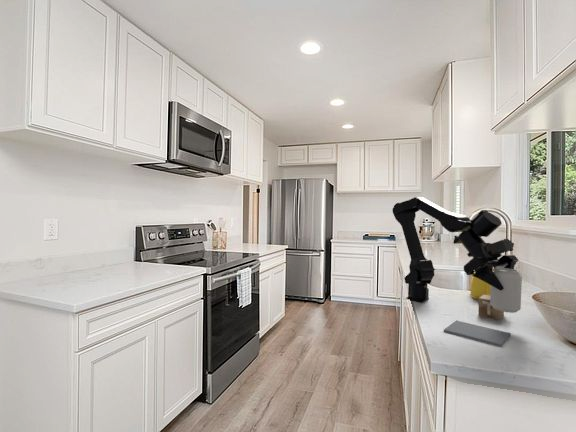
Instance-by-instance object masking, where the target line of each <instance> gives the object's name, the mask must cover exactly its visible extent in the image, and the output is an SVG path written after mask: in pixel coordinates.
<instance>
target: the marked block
mask: <svg viewBox="0 0 576 432" xmlns="http://www.w3.org/2000/svg"><path fill="white" fill-rule="evenodd" d="M477 311H478V316H479V317H483V318H487V319H493V320H497V321H501V320H502V319H503V317H504V316H505V315H504V314H505V312H503V311H499V310H496V309H494V308H493V307H492V306H491V305H490V296H488V295H482V296H481V297H480V298H479V299H478V310H477Z"/></svg>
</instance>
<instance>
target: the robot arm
mask: <svg viewBox="0 0 576 432" xmlns="http://www.w3.org/2000/svg"><path fill="white" fill-rule="evenodd" d="M392 207H393V208H392V214H393V216H394V218H395V220H396V221H397V222H398V223H399V224H400V226H401V229H402V232H403V235H404V236H403V237H404V239H405V243H406V246H407V249H408V253H409V257H410V262H409V265H408V266H409V267H408V268H409V272H408V274H406V276H404V283H405V284H406V285H407V286H408V287H407V288H408V289H407V297H405V299H406V300H410V301H415V302H419V303H424V302H426V301H428V300H429V299H430V298H429V297H430V295H429V288H428V285H431V284H432V280H433V278H434V276H435V271H436V270H435V267H434V265H433V261H432V259H428V258H426V257H425V255H424V254H425V253H424V251H423V247H422V245H421V242H420V238H419V235H418V231H417V227H416V224H415V219H416V216H417V215H416V213H417V212H419V211H422V212H423V213H424V214H426V215H429V217H432V218H433V219H435V220H437V221H438V222H439V223H440V225H441V227H443V228H444V229H445V230H446V231H448V232H450V233H459V234H458V235H454V238H453V242H452V243H453V244H458V245H459V244H461V245H462V246H463V247H464V248H465V249H466V251H467V254H466V255H467V257H469V258H472V259H470V260H469V261H468V262H467V263H466V264H464V265H463V271H464V273H465V274H466V276H473V277H477V278H478V279H480V280H482V281H484V282H486V283H488V284H490V285H491V286H493V287H495V288H497V289H499V290H503V289H504V288H503V286H502V284H501V283H500V281H499V280H498V278H497V277H496V275H495V274H494V273H493V271H494V268H509V269H515V265H517V263H518V262H519V258H517V257H516V255H514V254H504V253H507V252H513V251H514V247H515V243H514V242H512V240H510V239H509V238H503V239H500V240H499V241H495V242H492V243H491V242H486V241H485V240H484V239H483V238H482V237H485V238H487V237H489V236H490V235H491V234H492V233H493V232H494V231H496V230H498V228H499V227H501V226H502V224H503V223H502V220H501V219H500V218H499V217H498V216H496V215H495V214H493V213H492V212H489V211H488V210H487V209H482V210H480V211H479V212H478V214H477V215H476V216H475V217H474V218H472V219H470V218H469V217H468V216H467V215H464V214H461V213H458V212H452V211H448V210H446V209H445V208H443V207H441V206H439V205H438V204H436V203H433V202H431V200H428V199H427V198H425V197H421V196H415V197H412V198H410V199H407V200H405V201H402V202H396V203H395V204H394V205H393V206H392ZM503 254H504V255H503ZM474 272H475V274H474Z"/></svg>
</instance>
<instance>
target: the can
mask: <svg viewBox="0 0 576 432" xmlns="http://www.w3.org/2000/svg"><path fill="white" fill-rule="evenodd" d="M493 273H494V274H495V275H496V277H497V278H498V280H499V281H500V283H501V284H502V286H503V288H504V289H503V290H499V289H497V288H495V287H493V286H491V294H490V305H491V306H492V307H493V308H494V309H496V310H499V311H503V312H504V313H511V314H514V313H517V312H519V311H521V309H522V308H521V307H522V285H523V284H522V283H523V282H522V279H523V276H522V275H521V274H520V271H519V270H517V269H515V268H514V269H509V268H494V267H493Z"/></svg>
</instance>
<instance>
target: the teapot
mask: <svg viewBox="0 0 576 432" xmlns="http://www.w3.org/2000/svg"><path fill="white" fill-rule="evenodd" d="M474 274H475V272H474ZM471 276H472V275H471ZM490 294H491V285H490V284H488V283H486V282H484V281H482V280H480V279H478V278H477V277H473V276H472V277H471V282H470V295H471V298H472V297H473V298H472V299H474V300H479V298H480V297H481V296H482V295H488V296H490Z"/></svg>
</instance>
